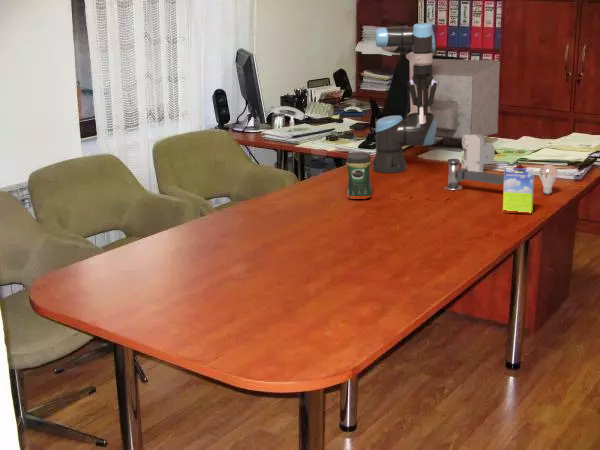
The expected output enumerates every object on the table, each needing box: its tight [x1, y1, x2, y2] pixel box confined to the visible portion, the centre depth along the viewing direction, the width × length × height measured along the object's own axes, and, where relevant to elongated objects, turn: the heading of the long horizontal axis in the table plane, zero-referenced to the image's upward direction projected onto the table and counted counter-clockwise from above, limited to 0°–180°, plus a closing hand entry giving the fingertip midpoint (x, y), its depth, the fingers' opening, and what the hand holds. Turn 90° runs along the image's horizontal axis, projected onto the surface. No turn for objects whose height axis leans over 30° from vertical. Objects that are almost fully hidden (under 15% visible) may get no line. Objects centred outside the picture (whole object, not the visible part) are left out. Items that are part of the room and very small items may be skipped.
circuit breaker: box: [460, 134, 498, 173], centre depth 358 cm, size 8×14×15 cm, turn 89°
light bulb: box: [538, 164, 559, 196], centre depth 319 cm, size 7×7×12 cm
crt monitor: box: [427, 58, 501, 153], centre depth 397 cm, size 35×37×40 cm
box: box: [502, 167, 535, 213], centre depth 298 cm, size 10×4×17 cm, turn 72°
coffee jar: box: [346, 151, 373, 196], centre depth 325 cm, size 10×8×19 cm
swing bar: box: [458, 168, 505, 186], centre depth 324 cm, size 22×5×6 cm, turn 54°
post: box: [444, 158, 463, 190], centre depth 332 cm, size 7×7×12 cm
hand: (422, 123), depth 332 cm, fingers closed
